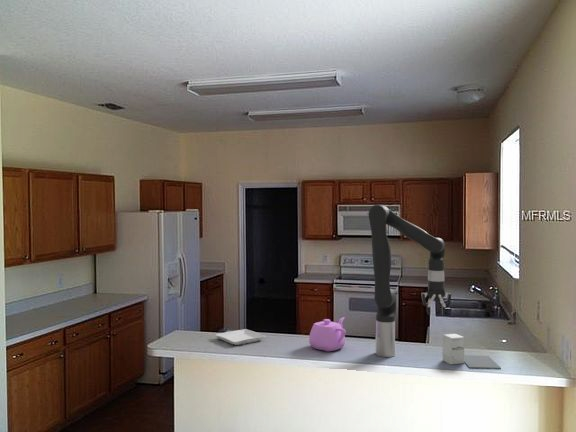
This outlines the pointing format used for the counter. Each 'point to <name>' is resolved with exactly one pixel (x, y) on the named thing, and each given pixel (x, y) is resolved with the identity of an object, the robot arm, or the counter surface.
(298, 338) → the counter surface
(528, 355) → the counter surface
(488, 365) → the charcoal mat
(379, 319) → the robot arm
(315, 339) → the teapot
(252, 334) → the salad plate
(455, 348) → the supplement box
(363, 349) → the counter surface
